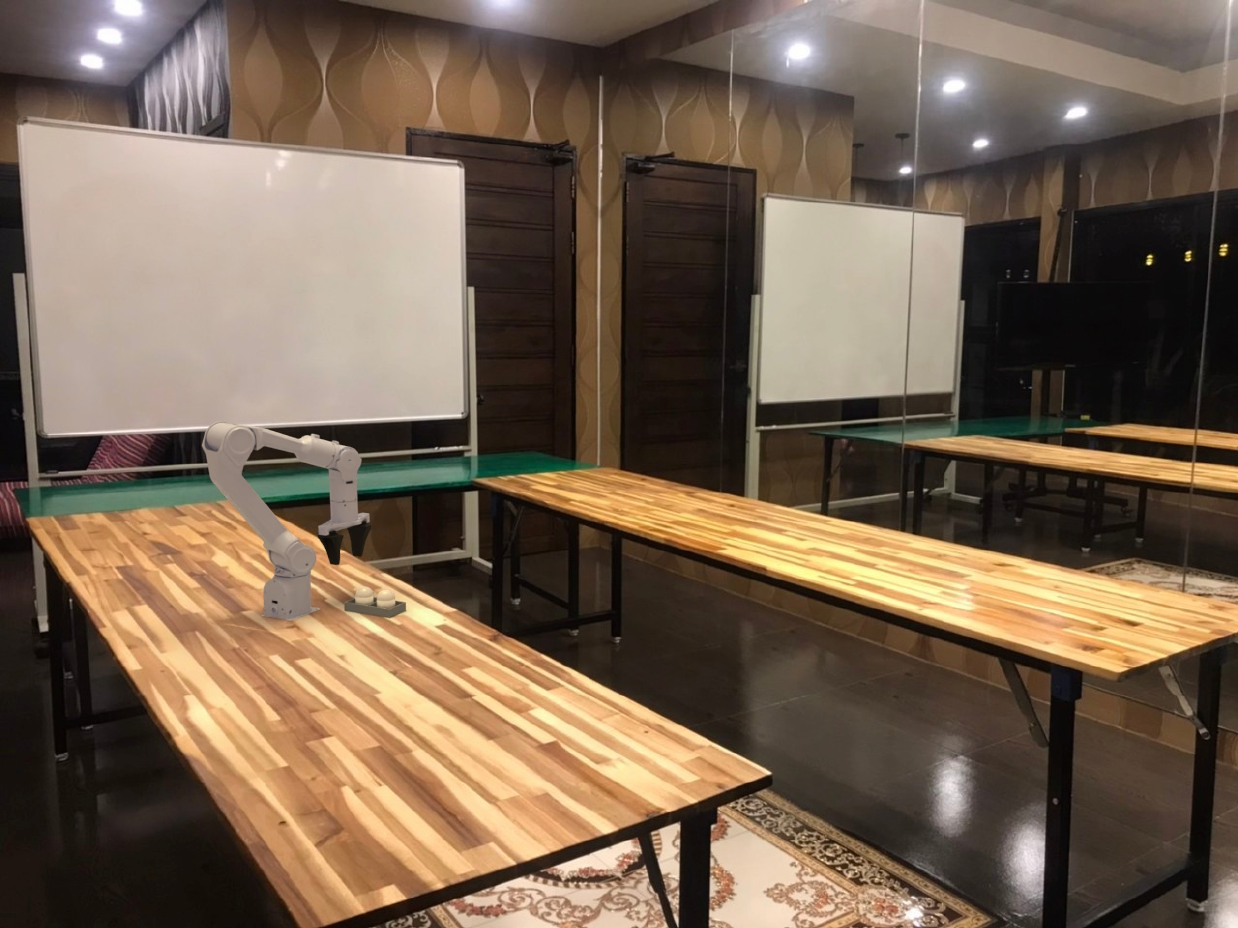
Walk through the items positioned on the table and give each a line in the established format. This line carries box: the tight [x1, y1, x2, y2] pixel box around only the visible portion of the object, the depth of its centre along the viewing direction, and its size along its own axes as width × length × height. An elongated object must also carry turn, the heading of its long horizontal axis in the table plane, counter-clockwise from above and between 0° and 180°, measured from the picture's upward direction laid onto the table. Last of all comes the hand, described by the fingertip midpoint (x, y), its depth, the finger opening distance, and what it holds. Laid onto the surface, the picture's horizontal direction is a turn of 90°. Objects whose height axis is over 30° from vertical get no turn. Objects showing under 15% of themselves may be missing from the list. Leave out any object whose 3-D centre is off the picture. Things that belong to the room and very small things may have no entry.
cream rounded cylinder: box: [376, 589, 396, 609], centre depth 199 cm, size 4×4×5 cm
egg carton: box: [343, 596, 407, 619], centre depth 200 cm, size 6×12×2 cm, turn 68°
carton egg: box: [354, 585, 374, 605], centre depth 201 cm, size 4×4×5 cm
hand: (346, 560), depth 206 cm, fingers open, 7 cm apart
